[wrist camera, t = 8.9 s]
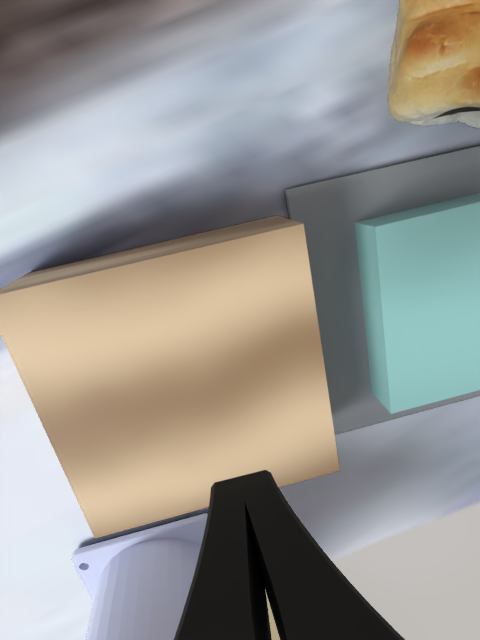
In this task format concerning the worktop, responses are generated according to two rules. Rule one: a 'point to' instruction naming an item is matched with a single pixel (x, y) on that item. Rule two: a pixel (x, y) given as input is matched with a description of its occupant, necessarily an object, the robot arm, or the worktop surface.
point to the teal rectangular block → (422, 302)
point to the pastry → (436, 63)
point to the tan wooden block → (176, 369)
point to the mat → (343, 267)
